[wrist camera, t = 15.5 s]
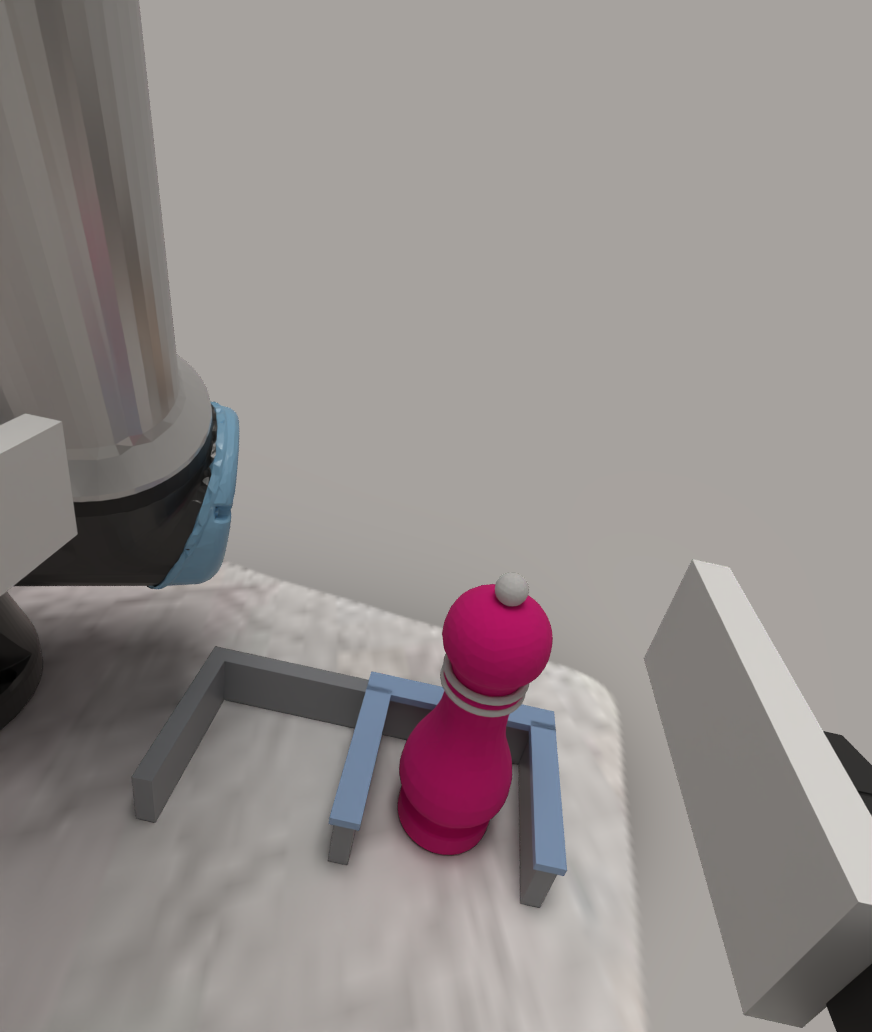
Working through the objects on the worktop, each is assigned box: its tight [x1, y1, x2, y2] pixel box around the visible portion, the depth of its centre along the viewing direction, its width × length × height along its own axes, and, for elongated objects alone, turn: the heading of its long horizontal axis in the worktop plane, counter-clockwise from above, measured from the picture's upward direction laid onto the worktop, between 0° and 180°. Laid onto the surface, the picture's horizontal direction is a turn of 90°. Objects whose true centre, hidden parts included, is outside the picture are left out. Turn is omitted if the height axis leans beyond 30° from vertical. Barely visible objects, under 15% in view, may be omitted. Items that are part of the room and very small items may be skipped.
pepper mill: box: [398, 572, 553, 855], centre depth 36 cm, size 7×7×20 cm
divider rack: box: [132, 646, 567, 908], centre depth 40 cm, size 26×12×5 cm, turn 84°
